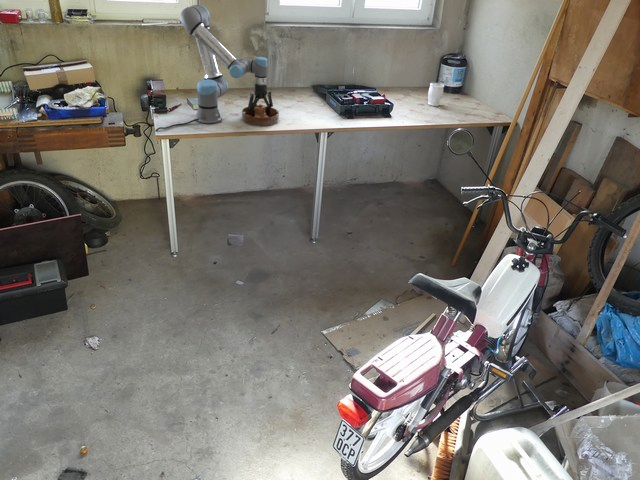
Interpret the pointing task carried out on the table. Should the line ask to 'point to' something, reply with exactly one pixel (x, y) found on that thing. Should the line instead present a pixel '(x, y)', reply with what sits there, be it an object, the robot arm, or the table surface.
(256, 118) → the brown shallow bowl
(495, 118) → the table surface
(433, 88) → the jar
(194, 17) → the robot arm
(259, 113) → the bracket
